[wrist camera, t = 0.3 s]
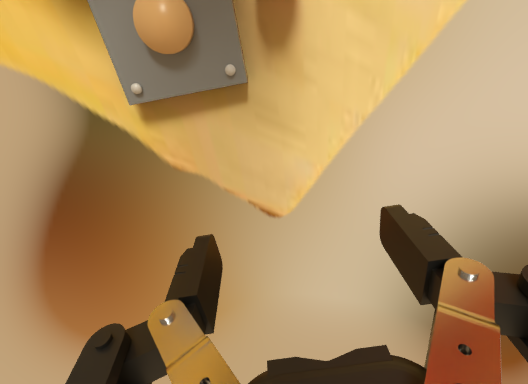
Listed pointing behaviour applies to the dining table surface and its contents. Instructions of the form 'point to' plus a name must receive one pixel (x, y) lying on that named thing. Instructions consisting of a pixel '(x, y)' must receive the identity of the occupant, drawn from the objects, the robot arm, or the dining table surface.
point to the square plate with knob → (171, 45)
